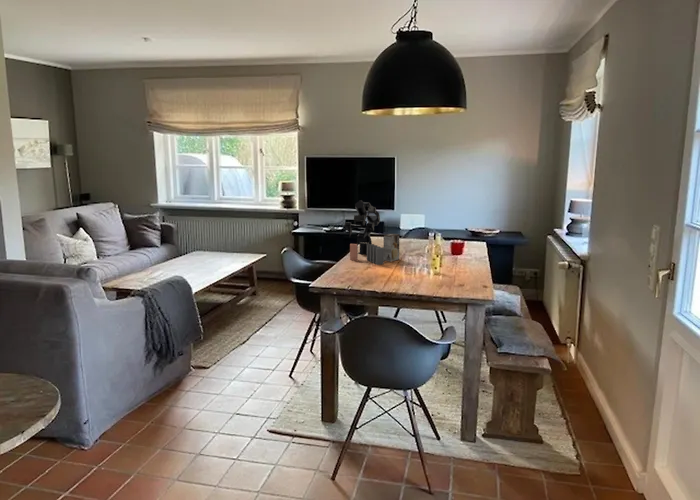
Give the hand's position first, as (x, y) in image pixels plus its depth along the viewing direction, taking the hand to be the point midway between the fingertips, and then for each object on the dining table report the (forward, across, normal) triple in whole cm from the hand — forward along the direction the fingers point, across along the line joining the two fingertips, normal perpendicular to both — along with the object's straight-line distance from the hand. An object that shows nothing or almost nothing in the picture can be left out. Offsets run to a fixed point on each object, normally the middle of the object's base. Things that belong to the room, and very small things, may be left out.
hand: (356, 237), depth 342 cm
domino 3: (+17, +16, +2) cm, 24 cm away
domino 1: (+12, +10, +7) cm, 17 cm away
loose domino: (+13, 0, +6) cm, 14 cm away
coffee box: (+9, +23, +10) cm, 26 cm away
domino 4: (+20, +19, -1) cm, 27 cm away
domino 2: (+15, +13, +4) cm, 20 cm away
